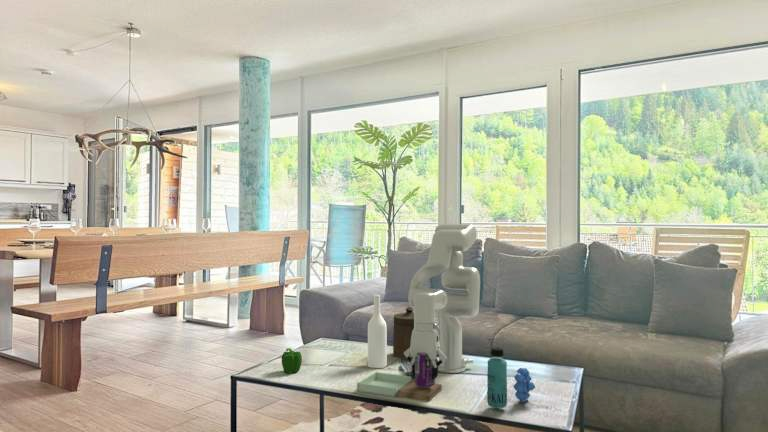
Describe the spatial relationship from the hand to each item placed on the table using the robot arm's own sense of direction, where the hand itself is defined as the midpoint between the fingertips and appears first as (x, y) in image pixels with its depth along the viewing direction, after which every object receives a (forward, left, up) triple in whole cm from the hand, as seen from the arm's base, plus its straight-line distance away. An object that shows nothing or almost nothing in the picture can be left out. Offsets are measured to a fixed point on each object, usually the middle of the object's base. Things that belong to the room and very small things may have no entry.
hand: (425, 376), depth 185 cm
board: (+2, -1, -6) cm, 7 cm away
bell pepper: (+44, -40, -7) cm, 60 cm away
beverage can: (0, 0, -4) cm, 4 cm away
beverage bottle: (-18, +20, -7) cm, 28 cm away
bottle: (+8, -39, -7) cm, 40 cm away
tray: (+12, -10, -6) cm, 17 cm away
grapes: (-30, +17, -7) cm, 35 cm away
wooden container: (-10, -51, -7) cm, 52 cm away
